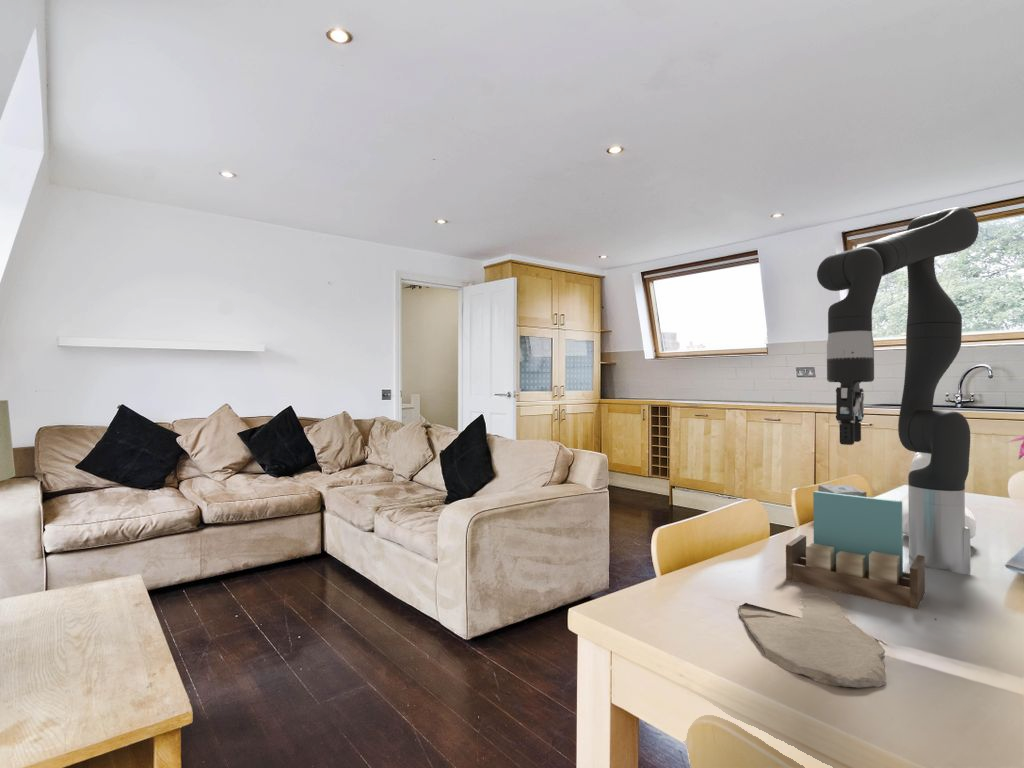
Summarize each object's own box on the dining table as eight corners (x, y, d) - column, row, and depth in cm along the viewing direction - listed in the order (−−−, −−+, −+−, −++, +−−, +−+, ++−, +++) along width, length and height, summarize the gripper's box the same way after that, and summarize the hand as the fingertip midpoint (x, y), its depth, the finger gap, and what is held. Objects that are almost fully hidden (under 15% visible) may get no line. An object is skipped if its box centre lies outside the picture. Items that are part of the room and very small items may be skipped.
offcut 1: (834, 581, 100) (834, 547, 100) (830, 586, 97) (830, 550, 98) (810, 576, 102) (810, 542, 102) (806, 580, 100) (805, 546, 100)
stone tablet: (828, 605, 94) (828, 591, 94) (918, 701, 65) (918, 681, 65) (728, 597, 97) (728, 584, 97) (771, 685, 68) (771, 666, 68)
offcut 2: (899, 596, 93) (899, 555, 93) (897, 601, 91) (896, 559, 91) (872, 590, 95) (872, 551, 96) (869, 594, 93) (868, 554, 93)
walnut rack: (925, 601, 94) (924, 555, 94) (917, 618, 87) (917, 569, 87) (801, 574, 108) (801, 534, 108) (785, 587, 101) (785, 545, 101)
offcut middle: (865, 588, 96) (865, 555, 96) (862, 593, 94) (862, 559, 94) (840, 583, 99) (840, 550, 99) (836, 587, 97) (836, 554, 97)
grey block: (835, 527, 145) (835, 489, 146) (814, 520, 154) (814, 484, 154) (868, 526, 147) (867, 488, 147) (845, 519, 155) (845, 483, 155)
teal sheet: (902, 590, 95) (902, 501, 95) (901, 592, 94) (901, 502, 94) (815, 572, 105) (815, 491, 105) (813, 573, 104) (813, 491, 104)
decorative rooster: (975, 556, 120) (974, 446, 121) (890, 542, 131) (889, 441, 131) (977, 534, 139) (976, 438, 139) (902, 523, 149) (901, 435, 150)
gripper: (868, 353, 92) (869, 447, 92) (878, 358, 103) (879, 441, 103) (819, 355, 97) (820, 444, 97) (833, 359, 108) (834, 439, 108)
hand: (850, 443), depth 100 cm, fingers open, 8 cm apart
